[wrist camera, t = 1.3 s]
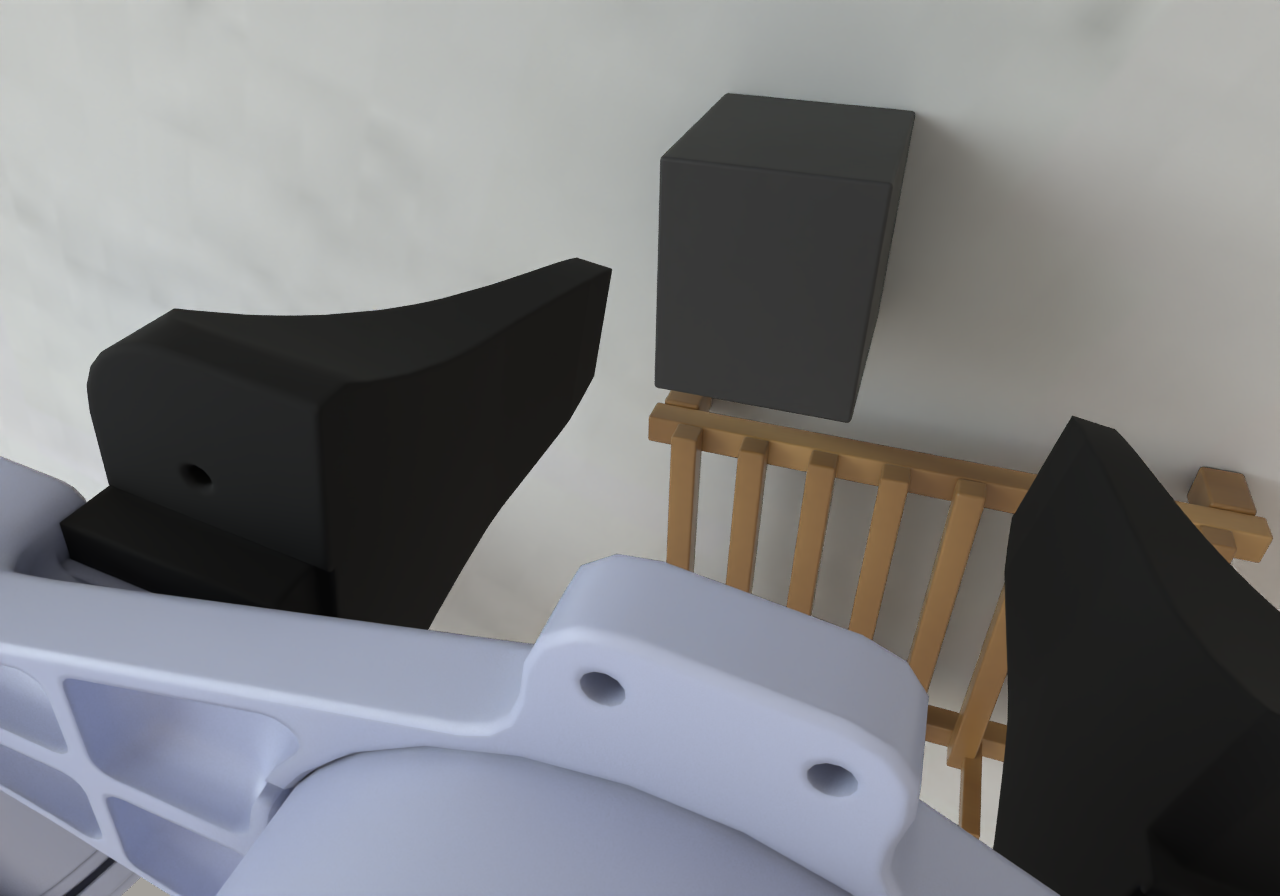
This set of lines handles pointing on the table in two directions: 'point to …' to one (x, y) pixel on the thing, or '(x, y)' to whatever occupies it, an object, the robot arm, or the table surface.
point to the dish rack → (969, 486)
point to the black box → (776, 250)
